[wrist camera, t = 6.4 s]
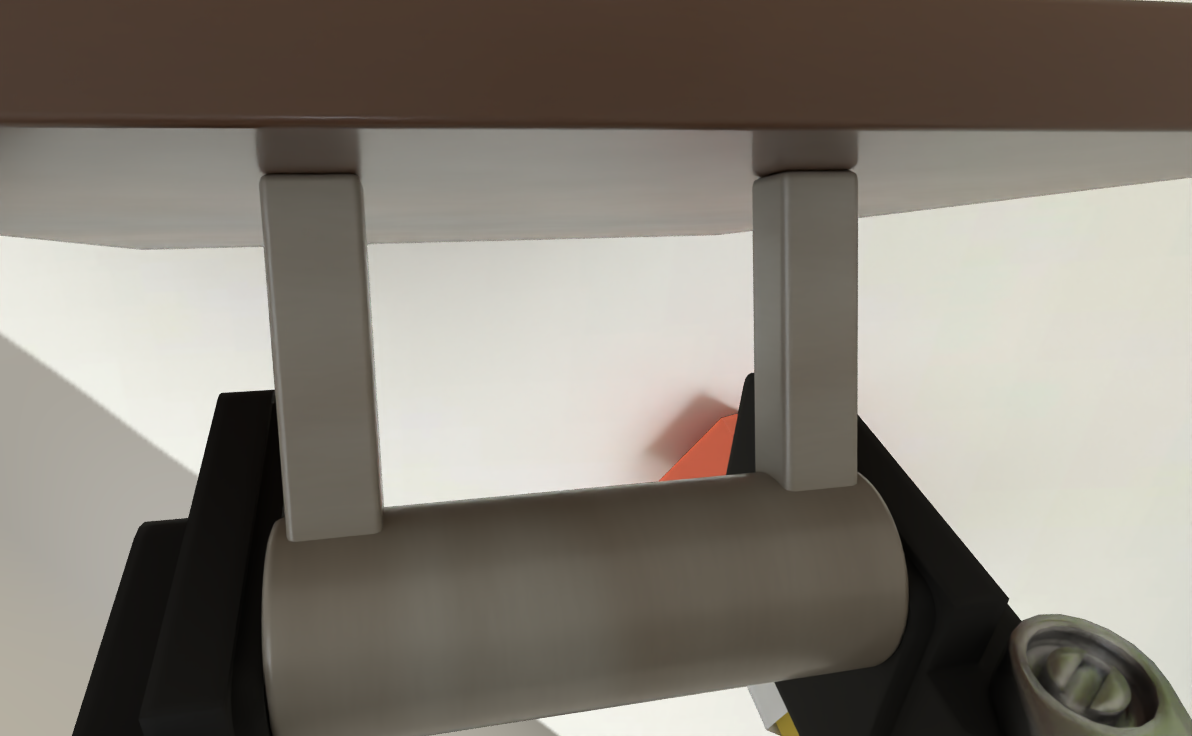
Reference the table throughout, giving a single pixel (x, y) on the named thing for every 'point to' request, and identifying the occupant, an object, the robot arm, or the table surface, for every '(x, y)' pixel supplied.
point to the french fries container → (713, 461)
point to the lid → (568, 211)
